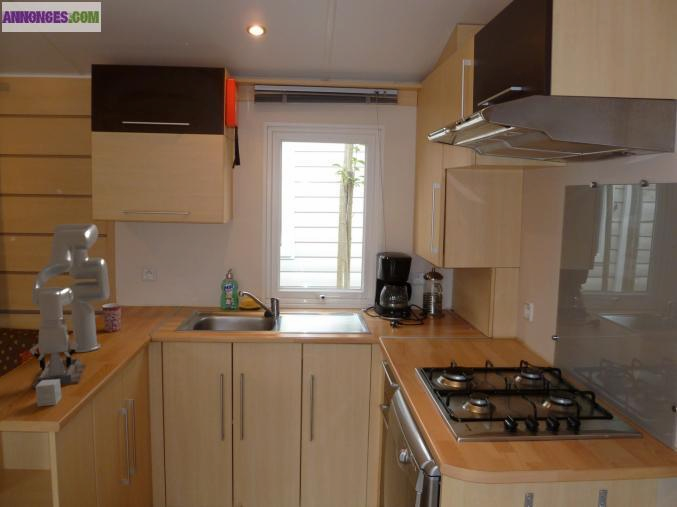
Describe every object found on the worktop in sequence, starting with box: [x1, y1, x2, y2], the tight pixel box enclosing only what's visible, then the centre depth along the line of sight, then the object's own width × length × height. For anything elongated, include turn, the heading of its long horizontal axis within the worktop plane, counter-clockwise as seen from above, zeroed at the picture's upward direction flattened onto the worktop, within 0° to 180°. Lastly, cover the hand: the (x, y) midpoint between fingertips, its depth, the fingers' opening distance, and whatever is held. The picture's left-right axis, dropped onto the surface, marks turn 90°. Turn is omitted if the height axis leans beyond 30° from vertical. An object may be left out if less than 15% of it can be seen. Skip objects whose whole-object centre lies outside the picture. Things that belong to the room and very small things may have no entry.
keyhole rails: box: [39, 357, 82, 383], centre depth 215 cm, size 22×12×2 cm, turn 18°
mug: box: [101, 302, 122, 333], centre depth 284 cm, size 13×9×14 cm
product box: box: [35, 379, 62, 407], centre depth 189 cm, size 6×6×7 cm
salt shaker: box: [48, 352, 65, 377], centre depth 208 cm, size 6×6×13 cm
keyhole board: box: [30, 362, 87, 390], centre depth 215 cm, size 22×16×1 cm
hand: (56, 367), depth 208 cm, fingers open, 8 cm apart
